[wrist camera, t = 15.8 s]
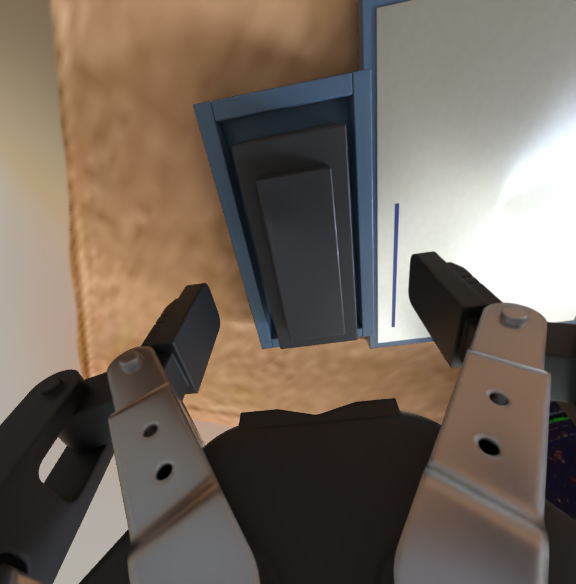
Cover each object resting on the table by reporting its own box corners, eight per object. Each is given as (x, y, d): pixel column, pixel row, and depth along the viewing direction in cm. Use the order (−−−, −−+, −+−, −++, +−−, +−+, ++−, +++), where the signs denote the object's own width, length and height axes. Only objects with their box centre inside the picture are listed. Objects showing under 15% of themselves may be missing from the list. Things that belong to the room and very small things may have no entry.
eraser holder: (207, 106, 15) (192, 104, 13) (358, 75, 14) (371, 67, 12) (264, 326, 22) (262, 349, 20) (365, 313, 22) (374, 335, 19)
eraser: (244, 139, 15) (226, 148, 11) (333, 122, 14) (350, 124, 10) (281, 311, 20) (279, 360, 16) (346, 303, 20) (361, 351, 16)
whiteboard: (356, 0, 13) (362, -9, 12) (737, -86, 11) (779, -105, 10) (366, 340, 23) (369, 350, 22) (567, 316, 22) (580, 325, 21)
